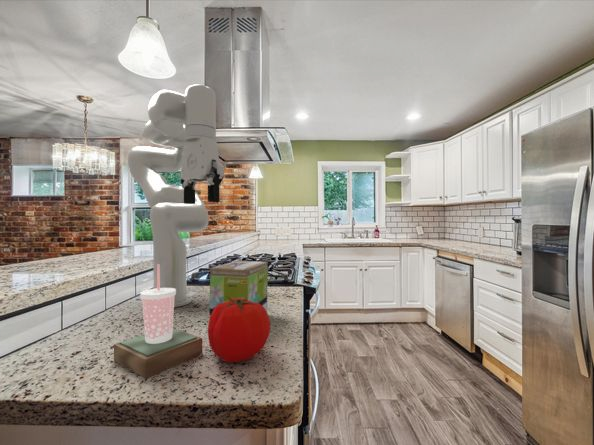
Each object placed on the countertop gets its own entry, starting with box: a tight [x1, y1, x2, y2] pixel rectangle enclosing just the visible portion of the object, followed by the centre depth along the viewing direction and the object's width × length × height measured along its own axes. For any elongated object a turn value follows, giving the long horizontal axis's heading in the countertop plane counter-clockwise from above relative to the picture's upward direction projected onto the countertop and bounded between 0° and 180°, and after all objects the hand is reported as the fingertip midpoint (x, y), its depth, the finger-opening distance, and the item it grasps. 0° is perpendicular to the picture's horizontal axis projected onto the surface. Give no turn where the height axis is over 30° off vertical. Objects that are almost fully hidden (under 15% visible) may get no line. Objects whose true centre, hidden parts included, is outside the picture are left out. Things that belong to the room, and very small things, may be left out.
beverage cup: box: [139, 264, 176, 344], centre depth 56 cm, size 6×6×14 cm
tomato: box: [207, 296, 271, 364], centre depth 55 cm, size 12×12×11 cm
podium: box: [113, 327, 203, 379], centre depth 56 cm, size 11×11×3 cm
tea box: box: [208, 260, 269, 319], centre depth 76 cm, size 15×10×15 cm, turn 168°
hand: (201, 202), depth 77 cm, fingers open, 9 cm apart
